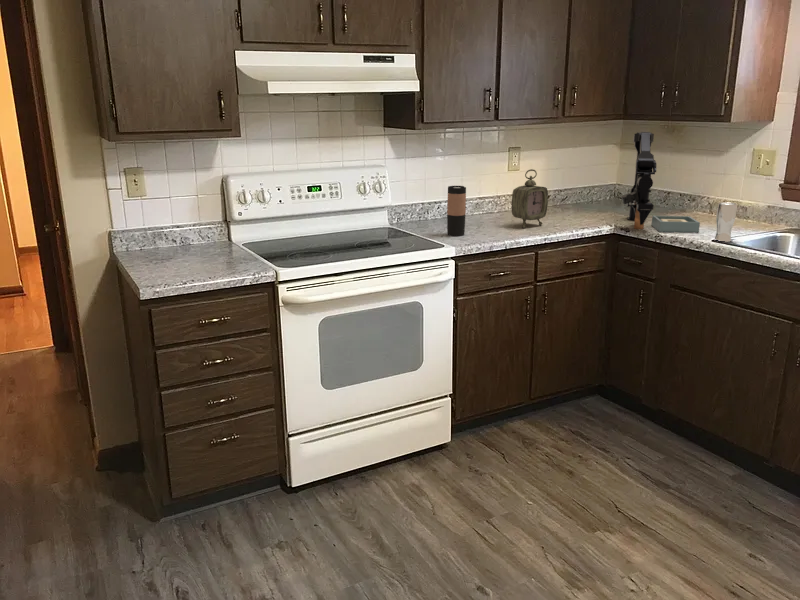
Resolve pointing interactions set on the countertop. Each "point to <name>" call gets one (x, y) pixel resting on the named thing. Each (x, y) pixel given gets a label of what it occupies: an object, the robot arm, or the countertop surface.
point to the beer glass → (725, 220)
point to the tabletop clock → (529, 201)
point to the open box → (675, 224)
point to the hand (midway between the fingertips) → (639, 222)
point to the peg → (637, 221)
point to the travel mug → (456, 210)
